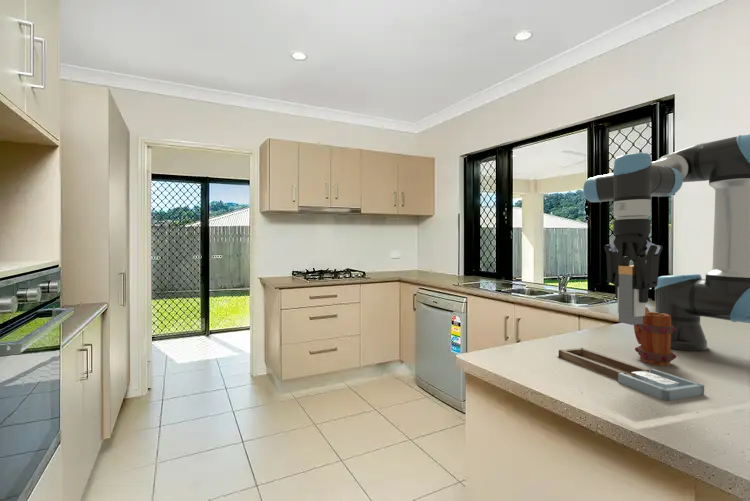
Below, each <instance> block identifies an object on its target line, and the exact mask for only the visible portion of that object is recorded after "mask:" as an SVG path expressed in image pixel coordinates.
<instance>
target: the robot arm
mask: <svg viewBox="0 0 750 501" xmlns="http://www.w3.org/2000/svg"><path fill="white" fill-rule="evenodd" d="M706 181H708V186H710V187H712V188H713V189H714V190H715V193H714V195H715V196H714V218H713V220H714V221H713V245H712V246H713V247H712V248H713V249H712V268H711V269H710V270H709V271H708V272H706V273H705V278H703V277H702V275H701V274H697V273H695V274H693V273H692V274H677V275H676V274H675V275H661V276H659V268H660V255H661V253H662V251H663V248H664V246H663V245H661V244H658V245H657V244H655V243H654V242H653V243H652V241H651V239H650V234H651V232H652V231H651V228H652V225H651V224H652V223H651V222H652V220H650V218H648V217H651V216H652V200H651V198H652V197H657V198H662V197H664V198H665V197H671V196H673V195H674V194H677V192H678V191H679V190H680V189H682V186H683V183H690V182H691V183H692V182H693V183H694V182H706ZM583 195H584V197H585V199H586V201H588V202H589V203H602V202H611V201H612V202H613V218H615V220H613V221H612V222H613V224H612V225H613V227H612V228H613V230H612V232H613V235H614V236H615V238H614V240H613V242H611V244H604V246H603V249H604V251H605V254H606V272H607V273H606V275H607V283H608V284H612V285H614V286H615V287H614V288H615V289H614V291H615V294H614V295H615V296H614V298H615V299H616V300H617V314H619V266H626V265H630V261H632V264H633V266H634V267H635V277H636V283H637V287H635V288H636V289H634V316H636V317H637V316H645V307H646V303H648V302H649V289H650V288H651V289H652V288H654V312H657V313H659V314H661V313H664V314H668V315H670V316H671V325H673V327H674V328H676V331H675V332H673V333H671V349H674V350H680V351H681V350H682V351H693V352H694V351H695V352H696V351H705V350H707V349H708V341H707V340H708V339H707V338H706V336H705V332H704V330H703V327H702V325H701V317H702V318H703V317H704V318H709V319H716V320H723V321H731V322H732V323H747V324H750V133H749V134H743V135H741V134H740V135H737V136H733V137H728V138H723V139H718V140H714V141H710V142H704V143H702V142H701V143H698V144H694V145H691V146H689V147H685V148H683V149H680V150H677V151H674V152H672V153H669V154H664V155H663V156H661V157H659V158H658V159H657V160H655V161H652V156H651V155H650V153H647V152H636V153H632V152H631V153H627V154H623V155H620V156H617V157H616V158H615V159H614V164H613V171H612V172H611V173H607V174H603V175H602V174H601V175H596V176H593V177H589V178H588V179H586V181H584V184H583ZM646 252H647V253H646Z"/></svg>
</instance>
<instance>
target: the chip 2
mask: <svg viewBox="0 0 750 501" xmlns="http://www.w3.org/2000/svg"><path fill="white" fill-rule="evenodd" d="M647 382H648V383H651V384H654V385H656V386H659V387H662V388H664V389H666V388H673V387H679V383H678V382H675V381H672V380H670V379H667V378H664V377H653V378H648V379H647Z"/></svg>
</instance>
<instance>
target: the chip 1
mask: <svg viewBox="0 0 750 501" xmlns="http://www.w3.org/2000/svg"><path fill="white" fill-rule="evenodd" d="M631 376H632V377H634V378H637V379H640V380H643V381H645V382H647V379H648V378H653V377H661V376H658V375H655V374H652V373H650V371H649V372H647V371H638V372H631Z"/></svg>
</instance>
